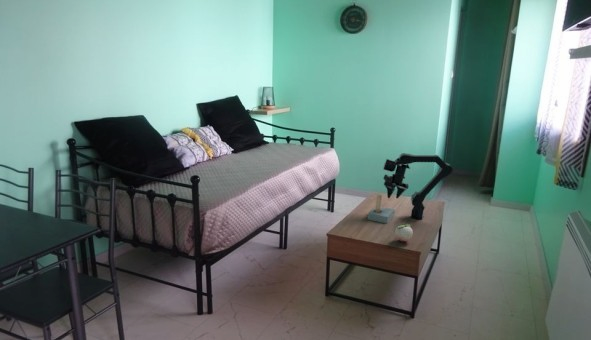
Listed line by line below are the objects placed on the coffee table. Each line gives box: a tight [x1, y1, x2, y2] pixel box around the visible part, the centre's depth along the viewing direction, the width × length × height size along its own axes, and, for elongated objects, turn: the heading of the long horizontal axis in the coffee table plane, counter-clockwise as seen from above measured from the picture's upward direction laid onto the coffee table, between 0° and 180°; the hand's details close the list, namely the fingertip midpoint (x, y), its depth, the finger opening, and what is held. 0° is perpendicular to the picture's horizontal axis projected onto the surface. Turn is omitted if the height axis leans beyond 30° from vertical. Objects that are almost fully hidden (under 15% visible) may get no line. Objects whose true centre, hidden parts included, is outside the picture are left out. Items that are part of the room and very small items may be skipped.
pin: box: [374, 194, 382, 213], centre depth 244 cm, size 3×3×14 cm
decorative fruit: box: [394, 224, 414, 242], centre depth 211 cm, size 9×8×10 cm
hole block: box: [367, 206, 396, 224], centre depth 246 cm, size 12×16×4 cm
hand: (392, 198), depth 247 cm, fingers open, 9 cm apart
